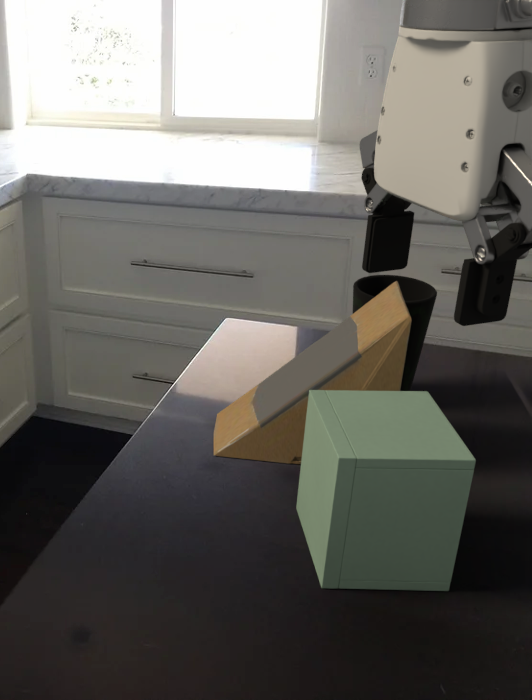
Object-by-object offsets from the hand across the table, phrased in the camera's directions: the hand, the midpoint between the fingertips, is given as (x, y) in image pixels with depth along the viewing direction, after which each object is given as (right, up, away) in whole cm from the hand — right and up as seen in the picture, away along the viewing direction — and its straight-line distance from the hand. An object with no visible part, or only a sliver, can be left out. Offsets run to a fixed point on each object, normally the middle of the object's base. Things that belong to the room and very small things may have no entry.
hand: (427, 293), depth 56 cm
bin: (0, -19, +11) cm, 22 cm away
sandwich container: (-2, -12, +26) cm, 29 cm away
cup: (+9, -9, +33) cm, 36 cm away
